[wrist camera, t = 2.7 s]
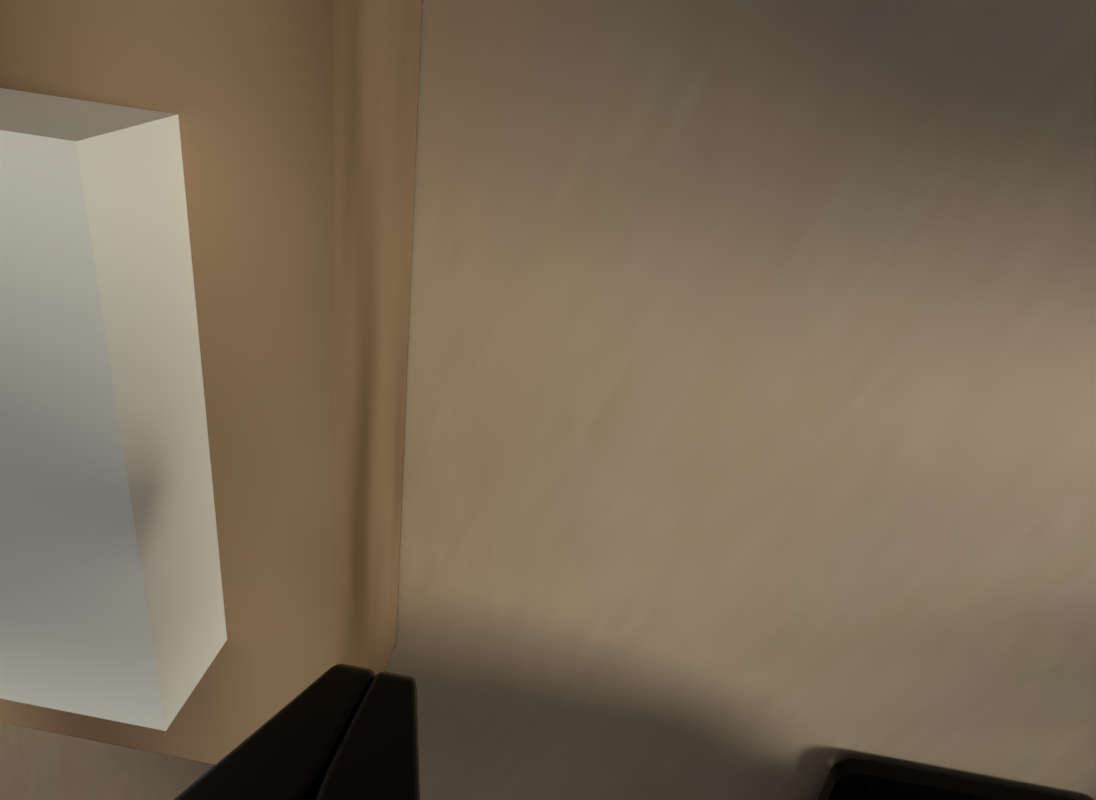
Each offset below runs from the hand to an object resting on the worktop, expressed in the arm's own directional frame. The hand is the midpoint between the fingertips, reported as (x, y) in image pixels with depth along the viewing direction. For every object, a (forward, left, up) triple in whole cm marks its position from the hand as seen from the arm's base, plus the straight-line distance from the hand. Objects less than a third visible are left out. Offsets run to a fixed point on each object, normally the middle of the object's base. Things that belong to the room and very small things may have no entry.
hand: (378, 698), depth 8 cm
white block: (+7, 0, -4) cm, 8 cm away
